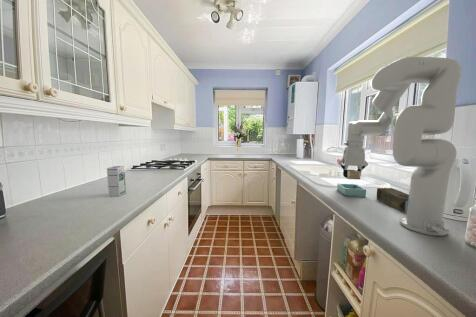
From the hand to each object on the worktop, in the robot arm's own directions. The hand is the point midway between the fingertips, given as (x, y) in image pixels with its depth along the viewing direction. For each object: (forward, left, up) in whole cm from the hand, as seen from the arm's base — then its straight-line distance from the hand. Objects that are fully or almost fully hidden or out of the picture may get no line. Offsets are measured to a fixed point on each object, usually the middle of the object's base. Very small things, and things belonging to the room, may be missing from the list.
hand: (351, 176), depth 116 cm
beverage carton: (-18, -14, -10) cm, 25 cm away
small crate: (0, 0, -1) cm, 1 cm away
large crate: (0, 0, -9) cm, 9 cm away
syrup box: (-24, +123, -10) cm, 126 cm away
